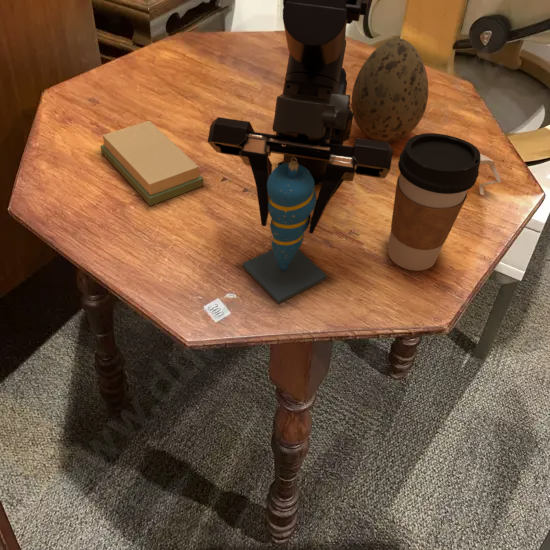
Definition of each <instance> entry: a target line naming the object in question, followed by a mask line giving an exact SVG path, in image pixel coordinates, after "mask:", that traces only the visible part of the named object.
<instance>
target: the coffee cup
mask: <svg viewBox="0 0 550 550" xmlns="http://www.w3.org/2000/svg"><path fill="white" fill-rule="evenodd" d="M480 154H481V152H480V150H479V148H477V146H475V145H474V144H473V143H471V142H469V141H468V140H464V139H462V138H459V137H456V136H452V135H448V134H443V133H435V132H428V133H420V134H416V135H413V136H411V138H409V139H407V141H406V143H405V145H404V147H403V149H402V151H401V152H400V154H399V157H398V162H397V168H398V171H399V175H398V177H397V180H396V186H395V194H394V201H393V208H392V217H391V224H390V232H389V233H390V234H389V239H388V245H387V254H388V256H389V258H390V259H391V261H392V262H393V263H394V264H396V265H397V266H399V267H401V268H403V269H405V270H409V271H416V272H417V271H418V272H419V271H421V272H422V271H425V270H427V269H428V270H429V269H430V268H432V267H433V266H434V265H435V263H436V262H437V260H438V257H439V256H440V253H441V251H442V248H443V247H444V244H445V243H446V240H447V239H448V236H449V235H450V232H451V230H452V228H453V226H454V224H455V222H456V220H457V218H458V217H459V214H460V213H461V210H462V207H463V206H464V204H465V202H466V200H467V197H468V191H469V190H470V189H471V188H472V187H473V186H475V184H476V182H477V180H478V177H479V172H480V170H479V169H480V166H481V165H480V159H481V156H480Z"/></svg>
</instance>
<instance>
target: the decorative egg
mask: <svg viewBox="0 0 550 550" xmlns="http://www.w3.org/2000/svg"><path fill="white" fill-rule="evenodd" d="M428 79H429V78H428V75H427V68H426V67H425V64H424V61H423V58H422V57H421V54H420V53H419V51H418V50H417V49H416V47H415V46H414V45H413V44H412V43H411V42H410V41H409V40H406V39H404V38H399V37H397V38H391V39H389V40H387V41H384V42H383V43H382V44H380V45H379V46H377V48H375V49H374V50H373V52H371V53H370V55H369V56H368V57H367V58H366V60H365V61H364V62H363V64H362V66H361V68H360V70H359V72H358V74H357V76H356V78H355V81H354V84H353V87H352V92H351V100H350V104H351V111H352V113H353V114H354V115H353V120H354V121H355V123H356V125H357V127H358V128H359V129H360V131H361V132H362V133H363V134H364V135H366V137H368V138H370V140H375V141H381V142H388V143H392V142H396V141H399V140H401V139H403V138H405V137H406V136H408V135H409V134H410V133H412V132H413V131H414V130H415V129H416V128H417V126H418V125H419V124H420V122H421V121H422V119H423V117H424V114H425V112H426V109H427V105H428V101H429V80H428Z"/></svg>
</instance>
